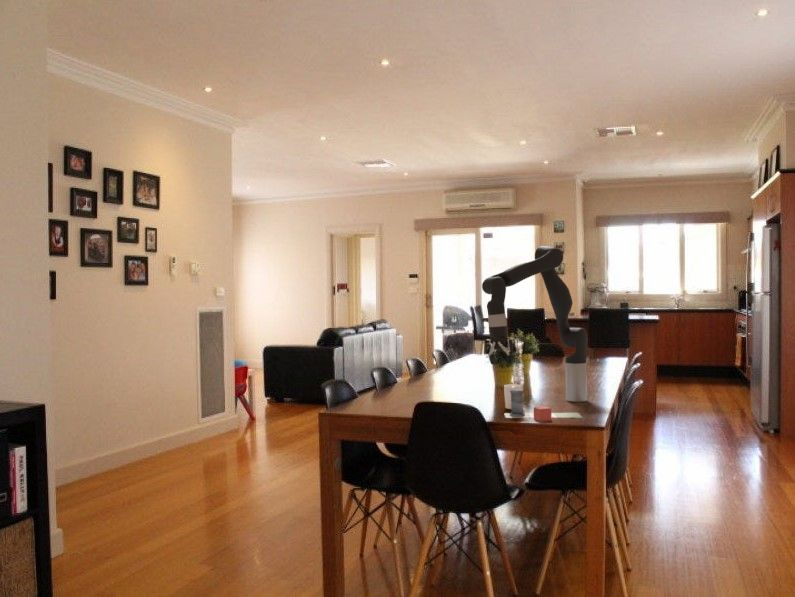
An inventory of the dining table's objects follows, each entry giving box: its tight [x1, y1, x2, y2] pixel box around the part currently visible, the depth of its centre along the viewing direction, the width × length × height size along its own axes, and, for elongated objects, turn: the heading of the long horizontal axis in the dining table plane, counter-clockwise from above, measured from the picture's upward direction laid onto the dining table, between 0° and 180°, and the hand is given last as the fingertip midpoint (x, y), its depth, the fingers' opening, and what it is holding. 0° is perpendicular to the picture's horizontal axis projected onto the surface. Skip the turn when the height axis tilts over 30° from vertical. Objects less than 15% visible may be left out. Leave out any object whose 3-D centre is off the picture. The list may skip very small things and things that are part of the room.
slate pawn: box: [509, 389, 526, 417], centre depth 274 cm, size 6×6×10 cm
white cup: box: [503, 383, 523, 410], centre depth 292 cm, size 8×8×10 cm
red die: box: [533, 405, 552, 422], centre depth 264 cm, size 5×5×6 cm
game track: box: [503, 412, 583, 419], centre depth 273 cm, size 10×30×1 cm, turn 85°
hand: (501, 364), depth 280 cm, fingers open, 8 cm apart
